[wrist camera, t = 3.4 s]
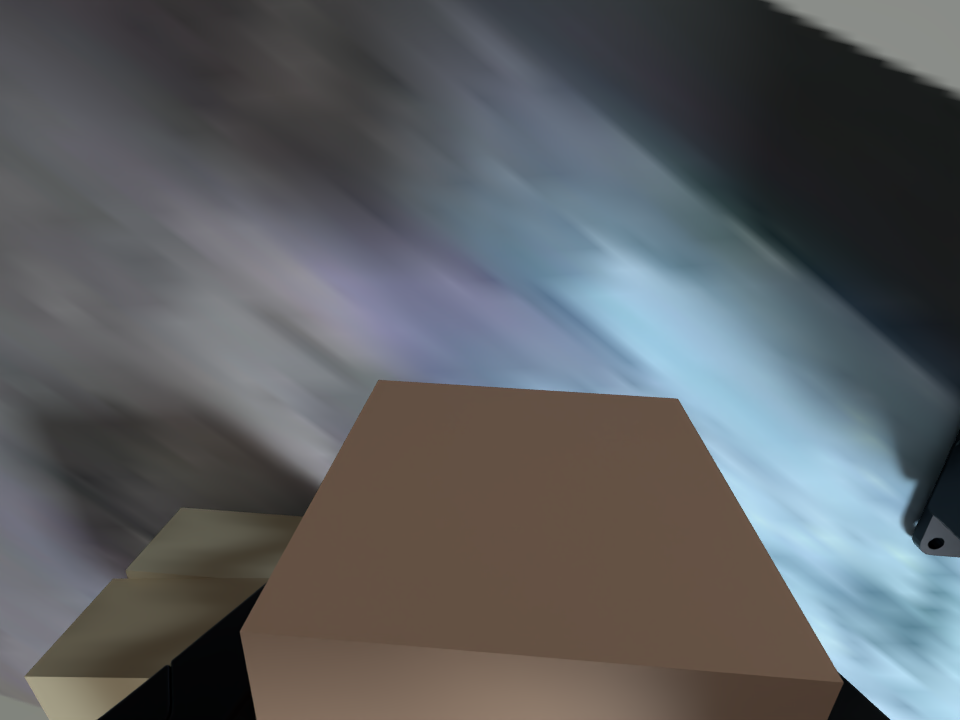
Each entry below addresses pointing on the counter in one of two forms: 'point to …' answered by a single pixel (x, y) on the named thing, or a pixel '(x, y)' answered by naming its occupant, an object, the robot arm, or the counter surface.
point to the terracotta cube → (529, 573)
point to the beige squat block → (129, 640)
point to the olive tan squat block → (215, 545)
